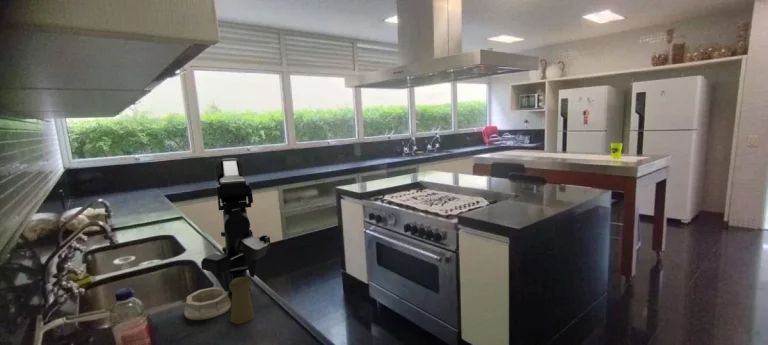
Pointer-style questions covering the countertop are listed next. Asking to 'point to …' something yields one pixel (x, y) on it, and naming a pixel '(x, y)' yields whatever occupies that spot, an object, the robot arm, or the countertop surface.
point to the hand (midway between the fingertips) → (240, 283)
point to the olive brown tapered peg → (241, 301)
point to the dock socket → (207, 303)
